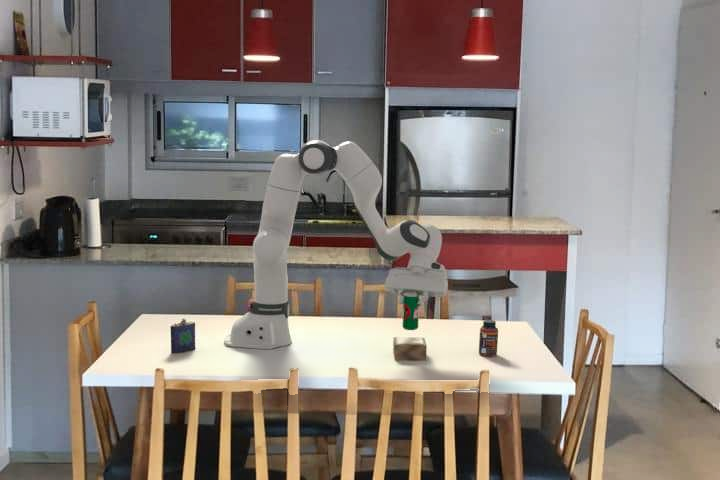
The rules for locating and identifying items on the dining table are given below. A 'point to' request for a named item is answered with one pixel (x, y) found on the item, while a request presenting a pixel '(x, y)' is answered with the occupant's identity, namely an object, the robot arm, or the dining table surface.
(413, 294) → the soda can
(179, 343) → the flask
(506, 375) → the dining table surface
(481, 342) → the supplement bottle
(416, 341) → the base block
